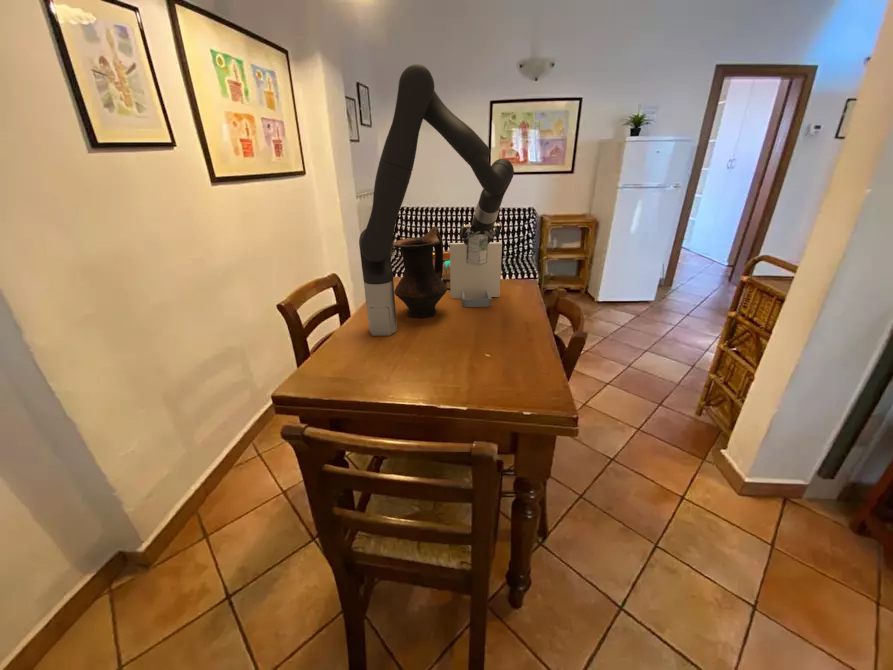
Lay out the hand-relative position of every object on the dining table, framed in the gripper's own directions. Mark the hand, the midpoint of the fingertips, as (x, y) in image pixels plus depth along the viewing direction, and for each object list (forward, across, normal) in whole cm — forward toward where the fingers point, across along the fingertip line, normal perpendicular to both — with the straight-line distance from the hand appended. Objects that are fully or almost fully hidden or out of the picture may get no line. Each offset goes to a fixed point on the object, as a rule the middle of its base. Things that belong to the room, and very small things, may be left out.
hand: (476, 242), depth 139 cm
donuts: (+34, +4, -1) cm, 35 cm away
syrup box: (+5, 0, +6) cm, 8 cm away
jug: (+10, +22, +23) cm, 33 cm away
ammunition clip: (+27, +5, +6) cm, 28 cm away
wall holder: (+16, 0, +17) cm, 23 cm away
